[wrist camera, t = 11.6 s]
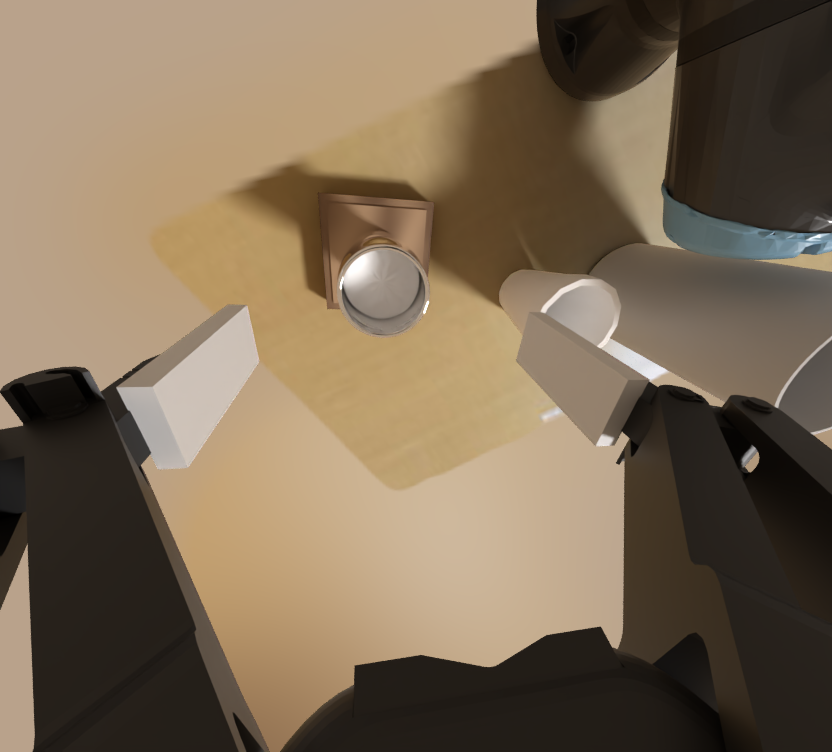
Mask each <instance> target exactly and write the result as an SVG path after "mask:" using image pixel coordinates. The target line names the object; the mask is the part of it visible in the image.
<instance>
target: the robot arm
mask: <svg viewBox="0 0 832 752" xmlns="http://www.w3.org/2000/svg"><path fill="white" fill-rule="evenodd" d="M537 32H538V39H539V44H540V49H541V53H542V56H543V59H544V62H545V64H546V67H547V69H548V71H549V73H550V75H551V76H552V78H553V79H554V81H555V82H556V83H557V84H558V86H559V87H560V88H561V89H562V90H563V91H565V92H566V93H567V94H569V95H571V96H572V97H574V98H577V99H580V100H584V101H601V100H605V99H608V98H611V97H614V96H616V95H618V94H621V93H623V92H625V91H628V90H630V89H631V88H633V87H635V86H637V85H638V84H640V83H641V82H643V81H644V80H646V79H647V78H648V77H649V76H651V75H652V74H653V73H654V72H655V71H656V70H657V69H658V68H659V67H660V66H661V65H662V64H663V63H664V62H665V61H666V60H667V59H668V58H669V57H670V55H671V54H672V53H674V52H675V51H676V50H677V49H678V52H677V63H676V68H675V78H674V89H673V100H672V111H671V122H670V133H669V143H668V152H667V161H666V170H665V179H664V180H663V183H662V187H661V192H662V195H663V198H664V203H663V228H664V232H665V234H666V236H667V237H668V238H669V239H670V240H671V241H673V242H674V243H677V245H678V246H680V247H682V248H684V249H686V250H689V251H692V252H695V253H699V254H703V255H708V256H714V257H722V258H732V259H751V260H767V259H785V258H794V257H796V256H798V255H799V254H812V255H817V254H822V253H827V252H831V251H832V0H537ZM516 361H517V362H518V364H519V365H520V366H521V367H522V368H523V369H524V370H525V371H526V372H527V373H528V374H529V375H530V376H531V378H532V379H533V380H534V381H535V382H536V383H537V384H538V385H539V386H540V387H541V388H542V389H543V390H544V392H545V393H546V394H547V395H548V396H549V397H550V398H551V399H552V400H553V401H554V402H555V403H556V404H557V405H558V407H559V408H560V409H561V410H562V411H563V412H564V413H565V414H566V415H567V416H568V417H569V418H570V419H571V421H572V422H573V423H574V424H575V425H576V426H577V427H578V428H579V429H580V430H581V431H582V432H583V433H584V435H585V436H586V437H587V438H588V439H589V440H590V441H591V442H592V443H593V444H594V445H595V446H611V445H615V443H616V441H617V440H618V438H619V436H620V434H621V432H623V433H624V434H625V435H627V436H628V437H629V438H630V439H629V441H628V442H627V444H626V446H625V448H624V449H623V451H622V453H621V455H620V457H619V458H618V460H617V462H616V463H617V464H620V463H621V462H622V461H625V480H624V483H625V484H624V491H625V492H624V601H623V603H624V604H623V605H624V608H623V614H624V615H623V634H622V639H621V642H620V645H619V647H618V649H615V648H612V647H611V645H610V643H609V641H608V639H607V637H606V635H605V634H604V632H603V630H602V628H601V627H595V628H589V629H583V630H576V631H570V632H564V633H557V634H552V635H546V636H544V637H543V638H541V639H539V640H538V641H536V642H535V643H533V644H531V645H530V646H528V647H526V648H525V649H523V650H521V651H520V652H518V653H517V654H515V655H513V656H512V657H510V658H508V659H507V660H505V661H504V662H502V663H500V664H499V665H497V666H494V667H482V666H476V665H471V664H466V663H461V662H455V661H450V660H444V659H439V658H434V657H429V656H423V655H419V656H413V657H406V658H400V659H394V660H387V661H381V662H375V663H369V664H362V665H356V666H355V673H354V674H355V675H354V685H353V686H351V687H350V688H348V689H346V690H344V691H342V692H340V693H338V694H337V695H336V696H334V697H333V698H332V699H330V700H329V701H328V702H326V703H325V704H324V705H322V706H321V707H320V708H319V709H318V710H317V711H316V712H315V713H314V714H313V715H311V717H309V718H308V719H307V720H306V721H305V722H304V723H303V725H302V726H301V727H300V728H299V729H298V730H297V731H296V732H295V734H294V735H293V736H292V737H291V738H290V740H289V741H288V742H287V743H286V745H285V746H284V747H283V749H282V750H281V751H280V752H832V450H831V449H830V448H829V447H828V446H827V445H825V444H824V443H823V442H821V441H820V440H819V439H817V438H816V437H815V436H813V435H812V434H811V433H810V432H809V431H807V430H806V429H805V428H803V427H802V426H801V425H800V424H798V423H797V422H796V421H794V420H793V419H792V418H791V417H789V416H788V415H787V414H785V413H784V412H783V411H781V410H780V409H778V408H776V407H775V406H773V405H771V404H770V403H768V402H767V401H764V400H761V399H758V398H755V397H747V396H742V395H730V397H729V398H728V399H727V401H726V402H725V404H724V405H723V407H717V406H711V405H709V403H708V402H707V401H706V400H705V399H704V398H703V397H702V396H701V395H698V394H696V393H694V392H693V391H691V390H689V389H686V388H683V387H678V386H673V385H661V386H659V387H657V386H655V385H654V384H652V383H651V382H649V379H648V378H646V377H645V376H643V375H641V374H640V373H638V372H637V371H635V370H634V369H632V368H630V367H629V366H627V365H626V364H624V363H622V362H621V361H619V360H618V359H616V358H615V357H613V356H611V355H610V354H608V353H607V352H605V351H604V350H602V349H600V348H599V347H597V346H596V345H594V344H592V343H591V342H589V341H588V340H586V339H585V338H583V337H581V336H580V335H578V334H577V333H575V332H574V331H572V330H570V329H569V328H567V327H566V326H564V325H562V324H561V323H559V322H558V321H556V320H555V319H553V318H551V317H550V316H548V315H547V314H545V313H544V312H529V314H528V318H527V322H526V325H525V329H524V333H523V337H522V340H521V344H520V348H519V352H518V355H517V359H516ZM258 363H259V358H258V353H257V348H256V344H255V339H254V335H253V330H252V325H251V321H250V316H249V312H248V307H247V305H226V306H225V307H224V308H222V309H221V310H220V311H218V312H217V313H216V314H214V315H213V316H212V317H210V318H209V319H208V320H206V321H205V322H204V323H202V324H201V325H200V326H198V327H197V328H195V329H194V330H193V331H192V332H190V333H189V334H187V335H186V336H185V337H183V338H182V339H181V340H179V341H178V342H177V343H175V344H174V345H173V346H171V347H170V348H169V349H167V350H166V351H165V352H163V353H162V354H160V355H157V356H155V357H153V358H150V359H148V360H145V361H143V362H142V363H140V364H139V365H138V366H136V367H135V368H133V369H132V371H129V372H128V373H126V374H125V375H124V376H123V378H120V379H118V380H117V381H115V382H114V383H113V384H111V385H110V386H108V387H107V388H106V389H104V390H103V391H101V392H100V390H99V388H98V387H97V384H96V383H95V381H94V379H93V377H92V376H91V374H90V372H89V371H88V370H87V369H86V368H81V367H60V368H54V369H48V370H44V371H39V372H36V373H32V374H28V375H26V376H23V377H20V378H18V379H15V380H13V381H11V382H10V383H8V384H6V385H5V386H3V388H2V389H1V390H0V393H1V394H2V396H3V397H4V398H5V400H6V401H7V402H8V404H9V405H10V406H11V408H12V409H13V410H14V412H15V413H16V414H17V416H18V417H19V418H20V420H21V421H22V422H23V426H19V427H13V428H7V429H2V430H0V609H1V607H2V604H3V602H4V600H5V597H6V594H7V592H8V590H9V587H10V584H11V582H12V580H13V577H14V575H15V573H16V570H17V568H18V565H19V563H20V560H21V558H22V555H23V553H24V550H25V548H26V546H27V543H28V567H29V592H30V619H31V645H32V670H33V698H34V725H35V740H34V749H33V752H270V751H269V749H268V747H267V745H266V742H265V740H264V738H263V736H262V734H261V732H260V730H259V728H258V725H257V723H256V721H255V719H254V717H253V715H252V713H251V711H250V710H249V708H248V706H247V704H246V702H245V700H244V697H243V695H242V693H241V691H240V689H239V686H238V684H237V682H236V680H235V678H234V675H233V673H232V670H231V668H230V666H229V664H228V661H227V659H226V657H225V654H224V652H223V650H222V648H221V646H220V643H219V641H218V638H217V636H216V634H215V632H214V629H213V627H212V625H211V622H210V620H209V618H208V616H207V613H206V611H205V609H204V606H203V604H202V602H201V600H200V597H199V595H198V593H197V591H196V588H195V586H194V584H193V581H192V579H191V577H190V574H189V572H188V570H187V568H186V566H185V563H184V561H183V559H182V556H181V554H180V552H179V549H178V547H177V545H176V543H175V540H174V538H173V536H172V534H171V531H170V529H169V527H168V524H167V522H166V520H165V517H164V515H163V513H162V511H161V509H160V506H159V504H158V501H157V499H156V497H155V495H154V492H153V490H152V488H151V485H150V483H149V481H148V479H147V477H146V474H145V472H144V470H143V469H142V467H141V464H142V463H143V462H144V461H145V460H146V458H147V457H148V456H149V455H151V457H152V458H153V460H154V462H155V464H156V466H157V468H158V469H177V468H188V467H189V466H190V464H191V463H192V461H193V460H194V458H195V457H196V455H197V454H198V452H199V451H200V449H201V448H202V446H203V445H204V443H205V442H206V440H207V439H208V437H209V436H210V434H211V433H212V431H213V430H214V428H215V427H216V425H217V424H218V422H219V421H220V419H221V418H222V416H223V415H224V414H225V412H226V411H227V409H228V408H229V406H230V405H231V403H232V402H233V400H234V399H235V397H236V396H237V394H238V393H239V391H240V390H241V388H242V387H243V385H244V384H245V382H246V381H247V379H248V378H249V376H250V375H251V373H252V372H253V370H254V369H255V367H256V366H257V364H258ZM757 452H758V453H759V457H760V458H759V463H758V465H757V467H756V468H755V469H754V470H753V471H752V472H751V473H750V472H748V470H747V469H746V468H745V466H746V464H747V463H748V462H749V461H750V460H751V459H752V457H753V456H754V455H755V454H756V453H757Z"/></svg>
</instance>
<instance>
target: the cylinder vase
mask: <svg viewBox="0 0 832 752" xmlns="http://www.w3.org/2000/svg"><path fill="white" fill-rule="evenodd" d="M589 275H590V276H593V277H596V278H599V279H602V280H603V281H605V282H606V283H608V284H609V285H611V286H612V287H613V288H615V289H616V291H617V294H618V297H619V300H620V303H621V310H620V315H619V321H618V325H617V327H616V329H615V330H614V332H613V334H612V335H611V337H610V338H611V339H613V340H615V341H616V342H618V343H620V344H622V345H624V346H625V347H627V348H629V349H631V350H632V351H634V352H636V353H638V354H640V355H641V356H643V357H645V358H647V359H649V360H650V361H652V362H654V363H656V364H658V365H659V366H661V367H663V368H665V369H667V370H668V371H670V372H672V373H674V374H675V375H677V376H679V377H681V378H683V379H684V380H686V381H688V382H690V383H692V384H694V385H695V386H697V387H699V388H701V389H702V390H704V391H706V392H708V393H710V394H711V395H713V396H715V397H717V398H719V399H720V400H722V401H724V402H726V401H727V399H728V398H729V397H730V395H742V396H747V397H755V398H758V399H761V400H764V401H767V402H768V403H770V404H771V405H773V406H775V407H776V408H778V409H780V410H781V411H783V412H784V413H785V414H787V415H788V416H789V417H791V418H792V419H793V420H794V421H796V422H797V423H798V424H800V425H801V426H802V427H803V428H805V429H806V430H807V431H809V432H810V433H811V434H812V435H814V434H818V433H821V432H824V431H827V430H830V429H832V272H828V271H822V270H815V269H808V268H802V267H795V266H788V265H782V264H775V263H769V262H762V261H755V260H749V259H732V258H722V257H714V256H708V255H703V254H699V253H695V252H692V251H689V250H683V249H676V248H669V247H663V246H656V245H650V244H643V243H635V244H629V245H625V246H623V247H620V248H618V249H616V250H614V251H612V252H611V253H609V254H608V255H606V256H605V257H604V258H603V259H601V260H600V261H599V262H598V263H597V264H596V266H595V267H594V268H593V269H592V270H591V272H590V273H589Z"/></svg>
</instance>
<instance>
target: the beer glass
mask: <svg viewBox="0 0 832 752" xmlns="http://www.w3.org/2000/svg"><path fill="white" fill-rule="evenodd" d="M429 297H430V287H429V281H428V277H427V275H426V272H425V270H424V268H423V266H422V264H421V262H420V260H419V259H418V257H417V256H416V254H415V253H414V251H413V250H412V249H411V248H410V247H409V246H408V245H407V244H405V243H404V242H403V241H401V240H399V239H398V238H396V237H393V236H392V235H391V234H389V233H387V232H385V231H382V230H370V231H367V232H364V233H363V234H361V235H360V236H359V237H358V238H357V239H356V240H355V241H354V243H353V244H352V245H351V246H350V247H349V249H348V250H347V251H346V253H345V254H344V256H343V258H342V260H341V263H340V266H339V270H338V276H337V299H338V303H339V306H340V309H341V311H342V313H343V315H344V316H345V318H346V319H347V320H348V322H349V323H350V324H351V325H352V326H354V327H355V328H356V329H358V330H359V331H361V332H363V333H365V334H367V335H370V336H374V337H380V338H388V337H394V336H398V335H401V334H403V333H405V332H407V331H409V330H410V329H412V328H413V327H414V326H415V325H416V324H417V323H418V322H419V321H420V320H421V318H422V317H423V315H424V313H425V311H426V309H427V306H428V303H429Z"/></svg>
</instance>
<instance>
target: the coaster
mask: <svg viewBox="0 0 832 752" xmlns="http://www.w3.org/2000/svg"><path fill="white" fill-rule="evenodd" d="M318 199H319V212H320V224H321V236H322V249H323V261H324V273H325V286H326V298H327V309H340V306H339V303H338V299H337V276H338V270H339V266H340V263H341V260H342V258H343V256H344V254H345V253H346V251H347V250H348V249H349V247H350V246H351V245H352V244H353V243H354V241H355V240H356V239H357V238H358V237H359V236H360V235H361V234H363V233H364V232H367V231H370V230H382V231H385V232H387V233H389V234H391V235H392V236H393V237H396V238H398V239H399V240H401V241H403V242H404V243H405V244H407V245H408V246H409V247H410V248H411V249H412V250H413V251H414V253H415V254H416V256H417V257H418V259H419V260H420V262H421V264H422V266H423V268H424V270H425V272H426V275H427V277H428V269H429V257H430V245H431V234H432V222H433V210H434V202H426V201H414V200H401V199H389V198H377V197H365V196H353V195H340V194H328V193H318Z"/></svg>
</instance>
